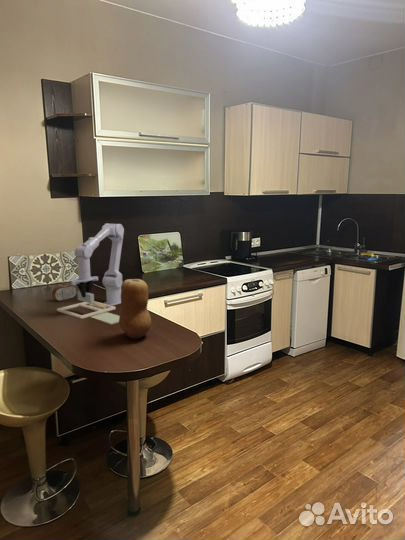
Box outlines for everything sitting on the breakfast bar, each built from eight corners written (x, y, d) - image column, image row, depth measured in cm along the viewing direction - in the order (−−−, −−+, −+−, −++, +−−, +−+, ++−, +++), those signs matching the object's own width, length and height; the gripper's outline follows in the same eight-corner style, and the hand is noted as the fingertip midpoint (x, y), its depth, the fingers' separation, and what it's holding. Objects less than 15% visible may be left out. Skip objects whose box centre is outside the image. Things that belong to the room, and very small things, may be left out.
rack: (91, 302, 222) (91, 300, 222) (115, 309, 209) (115, 306, 209) (57, 311, 206) (56, 308, 206) (81, 319, 193) (81, 316, 193)
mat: (106, 313, 203) (106, 312, 203) (127, 319, 193) (127, 318, 193) (90, 317, 195) (90, 316, 195) (111, 324, 186) (111, 323, 186)
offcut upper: (94, 304, 217) (94, 302, 217) (105, 308, 210) (105, 306, 210) (89, 306, 214) (89, 304, 214) (99, 309, 208) (99, 307, 207)
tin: (75, 296, 236) (74, 282, 234) (78, 297, 234) (77, 283, 232) (52, 301, 224) (51, 287, 223) (55, 302, 222) (54, 288, 221)
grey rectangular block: (81, 298, 206) (80, 290, 205) (94, 302, 199) (93, 294, 198) (77, 299, 204) (77, 291, 203) (90, 303, 197) (90, 294, 197)
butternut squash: (158, 336, 170) (156, 279, 165) (133, 345, 160) (131, 285, 156) (137, 329, 179) (135, 275, 174) (112, 337, 169) (110, 280, 165)
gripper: (91, 267, 207) (93, 292, 209) (66, 271, 195) (68, 298, 198) (100, 268, 202) (101, 294, 205) (75, 273, 191) (76, 300, 194)
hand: (85, 296), depth 201 cm, fingers closed on grey rectangular block, 2 cm apart
